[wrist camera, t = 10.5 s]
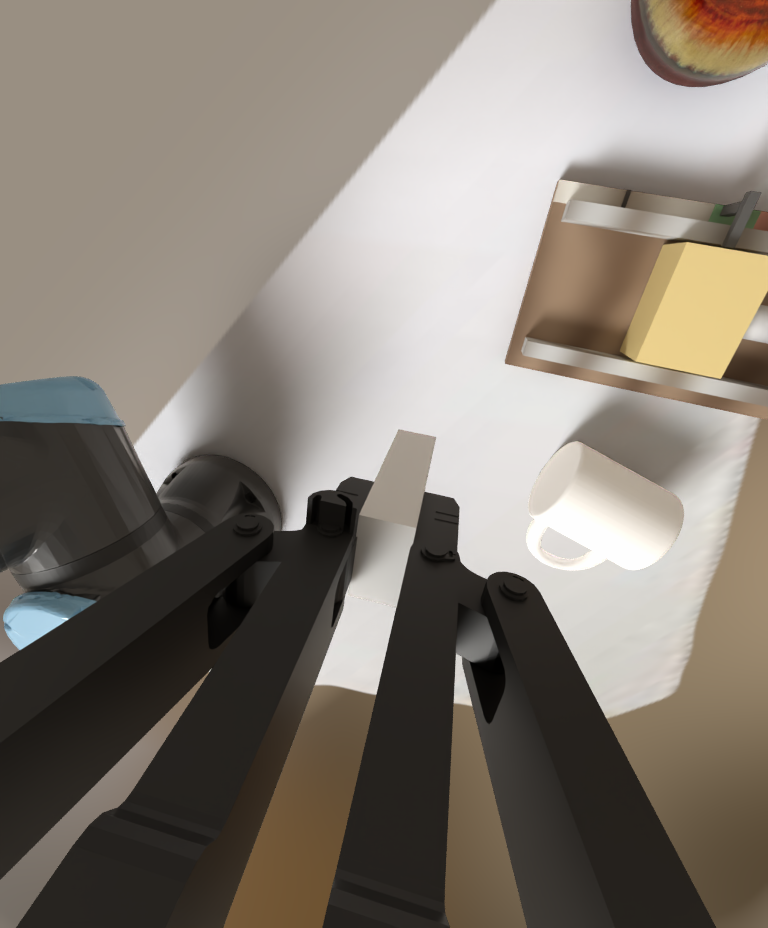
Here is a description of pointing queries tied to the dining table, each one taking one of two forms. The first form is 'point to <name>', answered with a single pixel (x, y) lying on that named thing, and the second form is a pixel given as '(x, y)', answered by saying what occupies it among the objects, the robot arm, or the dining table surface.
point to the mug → (601, 511)
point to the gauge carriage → (702, 302)
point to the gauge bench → (625, 294)
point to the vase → (701, 38)
